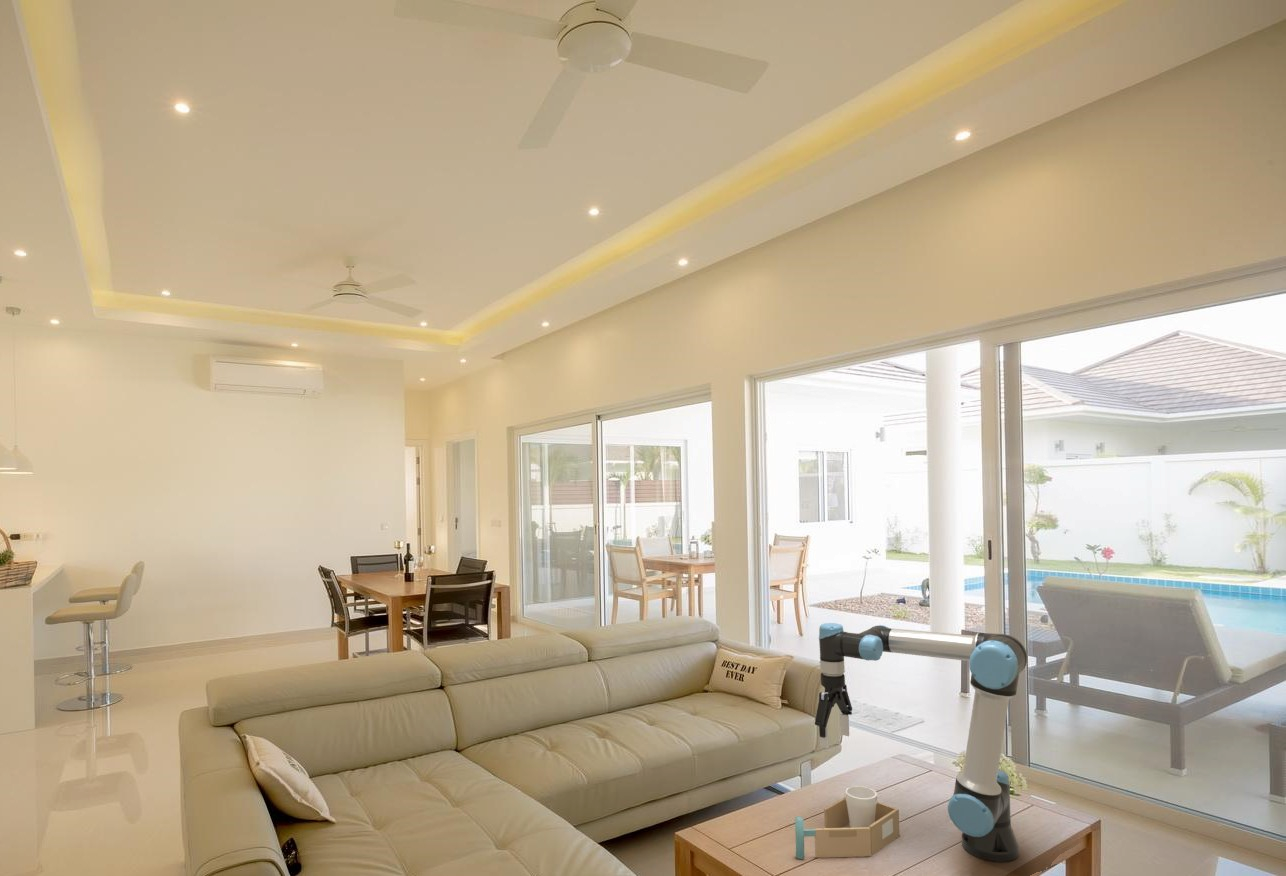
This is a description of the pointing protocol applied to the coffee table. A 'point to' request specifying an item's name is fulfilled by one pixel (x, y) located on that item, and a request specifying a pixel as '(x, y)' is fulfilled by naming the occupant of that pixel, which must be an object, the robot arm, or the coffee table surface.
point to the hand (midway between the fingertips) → (834, 741)
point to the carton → (880, 830)
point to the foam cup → (861, 806)
